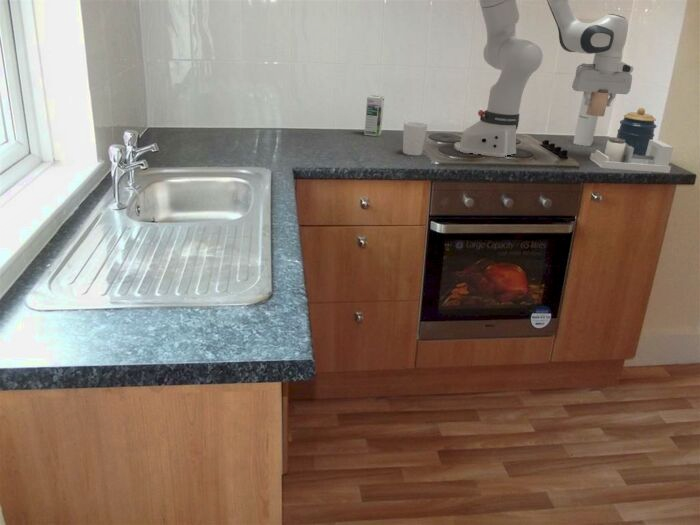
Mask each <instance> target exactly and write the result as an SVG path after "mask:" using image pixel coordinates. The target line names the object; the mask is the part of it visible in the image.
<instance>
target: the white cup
mask: <svg viewBox="0 0 700 525" xmlns="http://www.w3.org/2000/svg"><path fill="white" fill-rule="evenodd" d="M427 130H428V124H425V123H424V122H418V121H417V122H416V121H409V122H408V121H406V122H404V123H403V135H402V138H403V139H402V153H403V154H405V155H408V156H422V155H423V149H424V146H425V141H426V136H427V135H426V134H427Z"/></svg>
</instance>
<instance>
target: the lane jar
mask: <svg viewBox="0 0 700 525" xmlns="http://www.w3.org/2000/svg"><path fill="white" fill-rule="evenodd" d="M605 145H606V146H605V150H604V154H605V155H606V156H608V157H609V161H610V162H622V157H623V153H624V149H625V145H626V143H625V139H622V138H617V136H616V137H614V136H613V137H612V136H610V137H609V138H608V139H607V142H606V144H605Z"/></svg>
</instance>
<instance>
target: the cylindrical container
mask: <svg viewBox="0 0 700 525" xmlns="http://www.w3.org/2000/svg"><path fill="white" fill-rule="evenodd" d="M590 94H591V92H590ZM588 97H589V99H590V95H588ZM584 103H585V98H584V95H583V94H582V99H581V104H580V108H579V113H578V119H577V124H576V127H575V132H574V138H573V141H572V142H573V144H574V145H577V146H582V145H583V146H582V147H592V146H591V145H593V142H594V141H593V140H594V138H595V136H594V135H595V132H596V128H597V123H598V119H599V116H592V115H588V114H586V112H587V108H588V105H585V104H584Z"/></svg>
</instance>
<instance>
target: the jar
mask: <svg viewBox="0 0 700 525" xmlns="http://www.w3.org/2000/svg"><path fill="white" fill-rule="evenodd" d="M609 97H610V96H609V93H608V90H602V89H598V92H591V94H590V99H589V100H591V105H588V108H587V112H586V114H588V115H592V116H598V117H604V116H605V113H606V108H607V106H606V105H607V100H608V98H609Z"/></svg>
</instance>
